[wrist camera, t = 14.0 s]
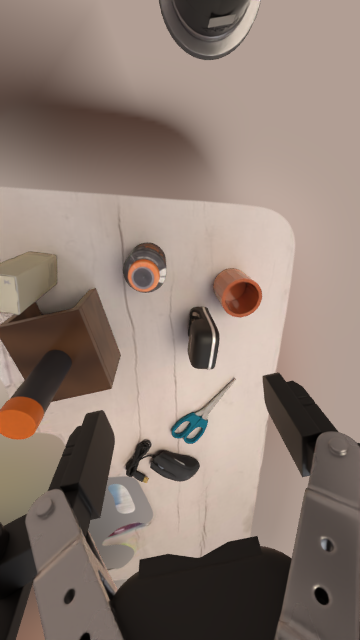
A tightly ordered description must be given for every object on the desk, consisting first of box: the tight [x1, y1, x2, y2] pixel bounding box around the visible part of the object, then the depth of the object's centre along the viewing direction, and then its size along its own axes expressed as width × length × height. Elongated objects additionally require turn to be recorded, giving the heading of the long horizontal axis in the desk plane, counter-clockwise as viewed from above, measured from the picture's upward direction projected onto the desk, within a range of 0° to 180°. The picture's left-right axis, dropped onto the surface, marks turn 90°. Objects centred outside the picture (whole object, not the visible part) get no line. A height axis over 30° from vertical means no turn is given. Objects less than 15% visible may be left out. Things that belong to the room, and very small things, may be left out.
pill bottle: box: [123, 243, 166, 293], centre depth 37 cm, size 6×6×11 cm
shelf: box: [0, 288, 121, 402], centre depth 42 cm, size 14×12×10 cm
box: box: [0, 252, 57, 315], centre depth 36 cm, size 5×4×13 cm
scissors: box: [172, 378, 236, 444], centre depth 56 cm, size 7×1×20 cm
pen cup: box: [213, 268, 262, 317], centre depth 42 cm, size 6×6×7 cm
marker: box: [0, 350, 72, 439], centre depth 32 cm, size 4×4×12 cm
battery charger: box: [188, 307, 219, 370], centre depth 42 cm, size 7×4×11 cm, turn 175°
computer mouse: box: [126, 441, 200, 483], centre depth 61 cm, size 12×18×4 cm
